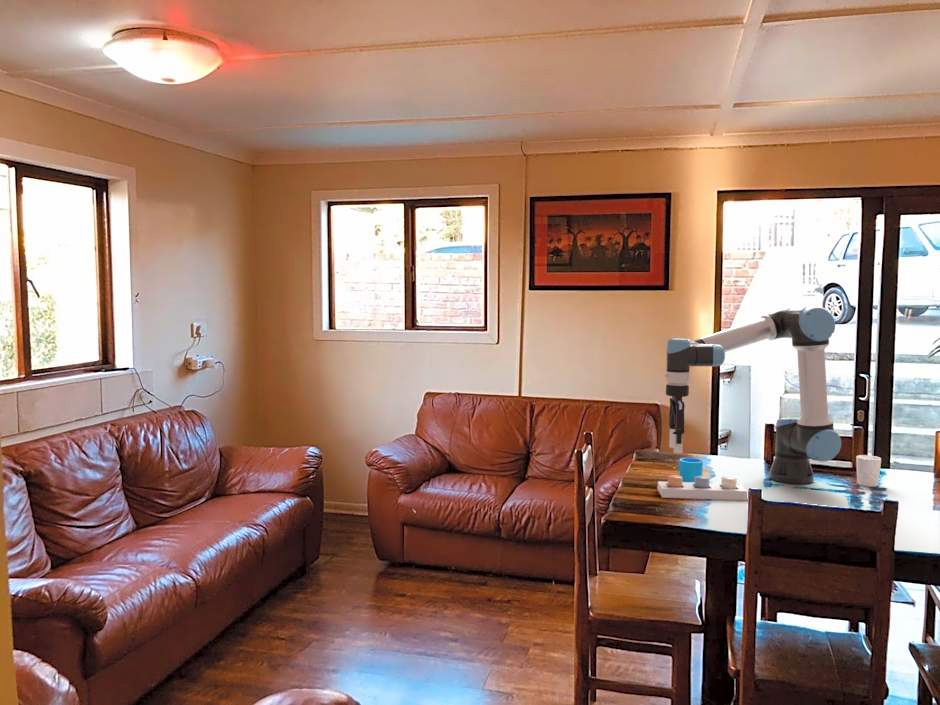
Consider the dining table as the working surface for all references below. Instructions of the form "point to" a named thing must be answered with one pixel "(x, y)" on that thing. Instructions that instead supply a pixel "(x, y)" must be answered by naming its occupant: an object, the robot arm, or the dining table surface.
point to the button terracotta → (675, 481)
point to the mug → (690, 469)
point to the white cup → (868, 470)
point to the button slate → (701, 482)
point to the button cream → (728, 483)
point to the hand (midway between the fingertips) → (675, 450)
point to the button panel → (702, 491)
